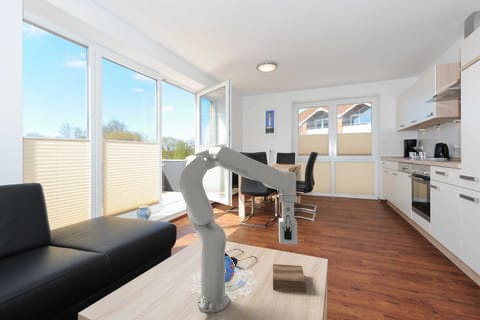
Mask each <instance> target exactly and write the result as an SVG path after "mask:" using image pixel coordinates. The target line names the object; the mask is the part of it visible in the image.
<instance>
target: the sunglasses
mask: <svg viewBox="0 0 480 320" xmlns="http://www.w3.org/2000/svg"><path fill="white" fill-rule="evenodd" d="M236 250H237V251H240V252H241V253H244V251H243V250H241V249H239V248H235V249H234V248H233V249H231V250H230V249H229V250H225V256H229V254H228V252H232V251H236ZM229 257H230V258H231V259H232V260H233V262H234V264H235V268H237V265H238V262H241V261H244V260H246V259H249V258H255V259H257V257H256V256H254V255H251V256H249V257H244V258H243V259H242V258H241V259H237V258H236V257H234V256H229Z"/></svg>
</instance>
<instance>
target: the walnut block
mask: <svg viewBox="0 0 480 320" xmlns="http://www.w3.org/2000/svg"><path fill="white" fill-rule="evenodd" d="M304 272H305V271H304V269H303V265H293V264H279V263H277V264H276V263H273V264H272V290H273V291H283V292H284V291H285V292H296V293H297V292H298V293H306V292H307V281H306V277H305V273H304Z"/></svg>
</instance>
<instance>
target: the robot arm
mask: <svg viewBox="0 0 480 320" xmlns="http://www.w3.org/2000/svg"><path fill="white" fill-rule="evenodd" d="M216 167H220V168H222V169H225V170H227V171H229V172H232V173H233V174H236V175H238V176H240V177H242V178H246V179H247V180H248V179H249V180H252V181H256V182H258V183H259V182H260V183H262V185H264V186H265V187H266V188H269V189H273V190H278V192H279V198H278V199H279V203H281V210H282V211H281V215H282V218H283V224H285V230H284V239H285V240H292V231H291V224H293V225H294V218H295V205H294V204H295V203H296V202H297V174H296V172H294V171H290V170H289V171H281V170H279V169H277V168H274V167H273V166H270V165H267V164H266V163H263V162H260V161H257V160H256V159H253V158H251V157H249V156H247V155H244V154H242V153H240V152H238V151H237V150H234V149H232V148H230V147H229V146H225V145H219V146H215V147H211V148H208V149H206V150H202V151H201V152H197V153H193V154H191V155H188V156H187V157H186V158H184V160H183V162H182V168H183V169H182V171H181V173H180V177H179V190H180V193H181V195H182V198H183V200H184V203H185V205H186V209H185V210H186V214H187V216H188V219H189V221H190V222H191V225H192V227H193V230H194V231H195V234H196V236H197V237H198V239H199V240H200V242H201V252H200V273H201V275H200V276H201V277H200V279H201V281H200V283H201V284H200V286H201V287H200V288H201V291H200V292H201V293H200V294H201V295H199V296H198V299H197V306H198V308H199V312H200V313H202V314H204V313H205V312H206V313H217V312H221V311H223V310H224V309H226V308H227V307H228V305H229V303H230V297H229V294H227V293H226V262H225V253H226V245H227V236H226V235H227V234H226V232H225V230H224V228H223V227H221V225H220V224H219V223H217V222H216V219H215V218H214V213H215V212H214V208H213V206H212V204H211V201H210V200H209V197H208V195H207V193H206V190H205V187H204V184H203V180H204V177H205V176H206V174H207V172H208V171H210V170H211V169H214V168H216ZM286 218H287V219H286ZM286 223H287V224H286ZM289 223H290V224H289ZM286 225H287V226H286Z"/></svg>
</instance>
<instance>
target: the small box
mask: <svg viewBox="0 0 480 320" xmlns="http://www.w3.org/2000/svg"><path fill="white" fill-rule="evenodd" d="M286 219H287V218H286ZM286 224H287V223H286ZM289 224H290V223H289ZM286 226H287V225H286ZM284 230H285V224H283V217H279V218H278V241H279V245H298V221H297V219H296V218H295V217H294V225H293V224H291V231H292V240H285V239H284Z"/></svg>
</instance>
